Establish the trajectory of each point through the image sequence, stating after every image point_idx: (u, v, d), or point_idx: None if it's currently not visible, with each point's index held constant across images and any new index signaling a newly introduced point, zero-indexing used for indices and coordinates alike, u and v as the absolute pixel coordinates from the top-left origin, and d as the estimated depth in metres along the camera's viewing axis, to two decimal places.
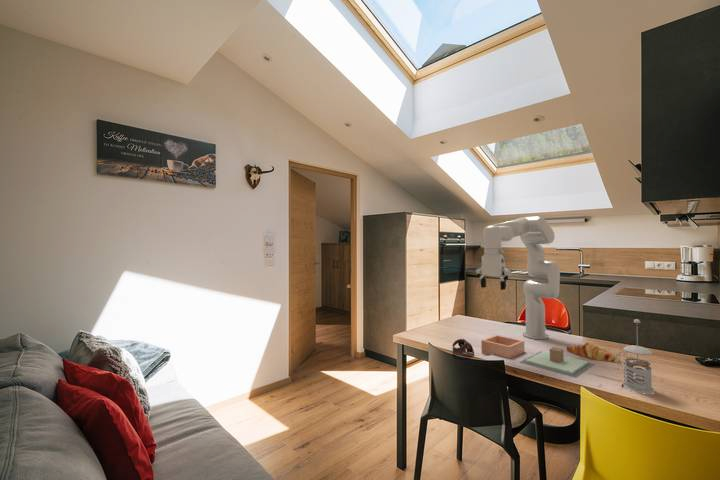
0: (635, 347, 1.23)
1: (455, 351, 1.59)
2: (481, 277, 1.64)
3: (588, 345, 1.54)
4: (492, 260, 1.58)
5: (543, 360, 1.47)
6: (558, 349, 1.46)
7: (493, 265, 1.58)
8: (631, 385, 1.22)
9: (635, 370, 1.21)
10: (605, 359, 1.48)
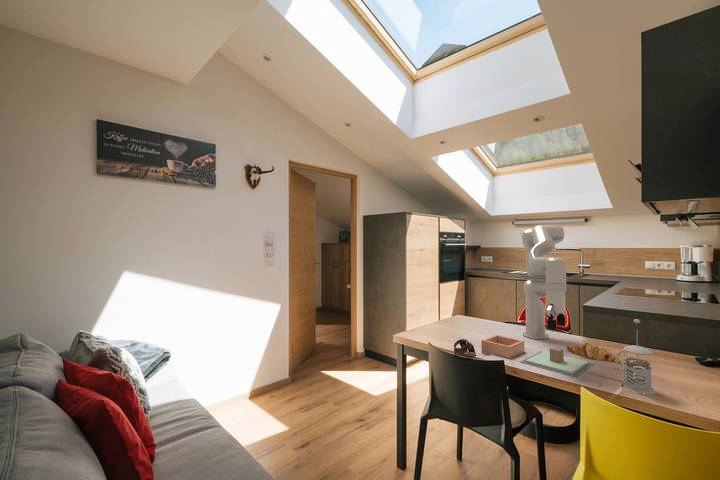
0: (635, 347, 1.23)
1: (457, 351, 1.58)
2: (555, 317, 1.42)
3: (588, 345, 1.54)
4: (563, 296, 1.45)
5: (543, 360, 1.47)
6: (558, 349, 1.46)
7: (563, 301, 1.45)
8: (631, 385, 1.22)
9: (635, 370, 1.21)
10: (605, 359, 1.48)
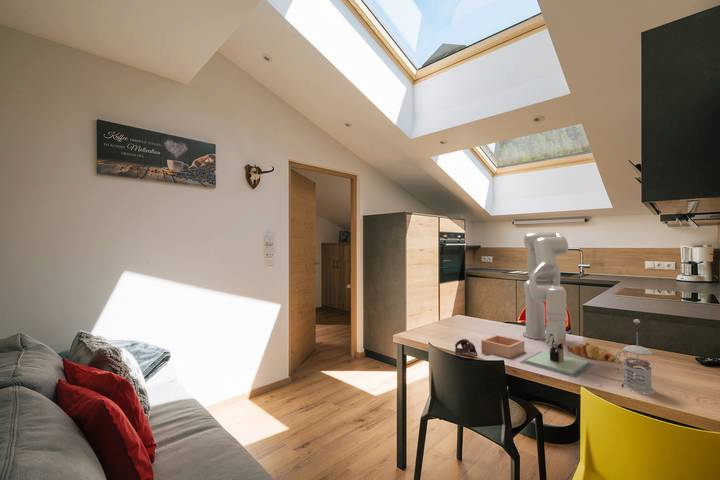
0: (635, 347, 1.22)
1: (458, 351, 1.58)
2: (557, 349, 1.43)
3: (588, 345, 1.54)
4: (563, 325, 1.45)
5: (543, 360, 1.47)
6: (558, 349, 1.46)
7: (564, 331, 1.45)
8: (631, 385, 1.22)
9: (635, 370, 1.21)
10: (605, 359, 1.48)
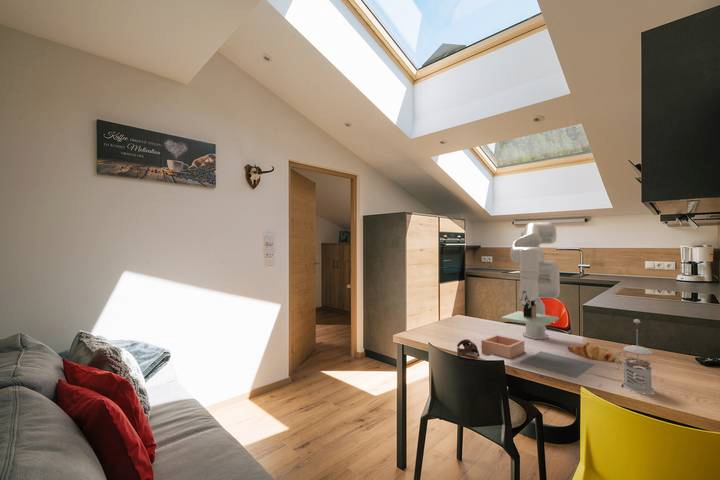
0: (635, 347, 1.23)
1: (460, 352, 1.58)
2: (530, 305, 1.51)
3: (589, 345, 1.54)
4: (536, 283, 1.53)
5: (517, 317, 1.54)
6: (531, 306, 1.53)
7: (536, 288, 1.53)
8: (631, 385, 1.22)
9: (635, 370, 1.21)
10: (605, 359, 1.48)
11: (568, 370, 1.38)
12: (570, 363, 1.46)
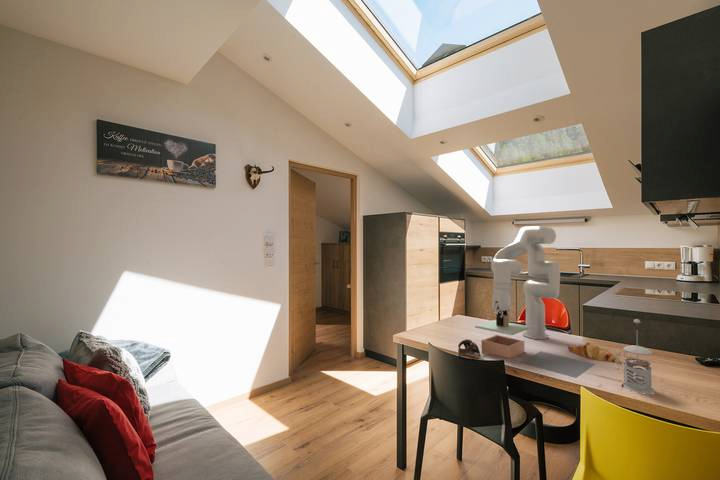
0: (635, 347, 1.23)
1: (461, 352, 1.58)
2: (502, 315, 1.60)
3: (589, 345, 1.54)
4: (508, 294, 1.61)
5: (490, 325, 1.63)
6: (503, 315, 1.62)
7: (508, 299, 1.62)
8: (631, 385, 1.22)
9: (635, 370, 1.21)
10: (605, 359, 1.48)
11: (568, 370, 1.38)
12: (570, 363, 1.46)
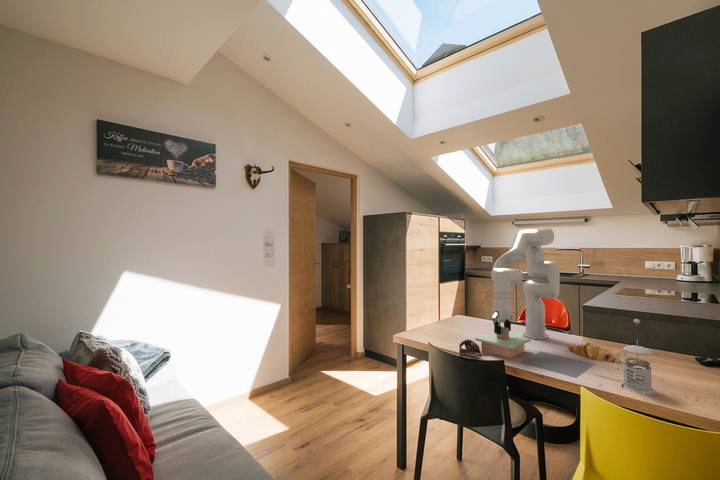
0: (635, 347, 1.23)
1: (462, 352, 1.57)
2: (500, 323, 1.58)
3: (589, 345, 1.54)
4: (508, 303, 1.61)
5: (491, 338, 1.63)
6: (504, 328, 1.62)
7: (509, 308, 1.62)
8: (631, 385, 1.22)
9: (635, 370, 1.21)
10: (605, 359, 1.48)
11: (568, 370, 1.38)
12: (570, 363, 1.46)
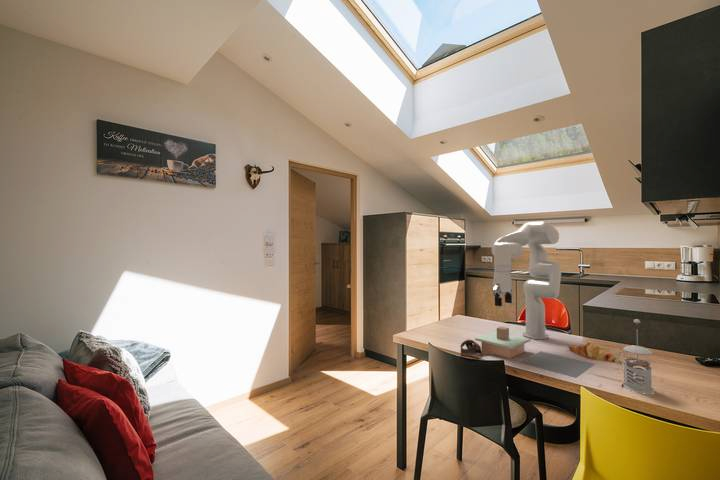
0: (635, 347, 1.23)
1: (464, 352, 1.57)
2: (500, 296, 1.60)
3: (589, 345, 1.54)
4: (509, 276, 1.63)
5: (491, 338, 1.63)
6: (504, 328, 1.62)
7: (509, 281, 1.64)
8: (631, 385, 1.22)
9: (635, 370, 1.21)
10: (605, 359, 1.48)
11: (568, 370, 1.38)
12: (570, 363, 1.46)
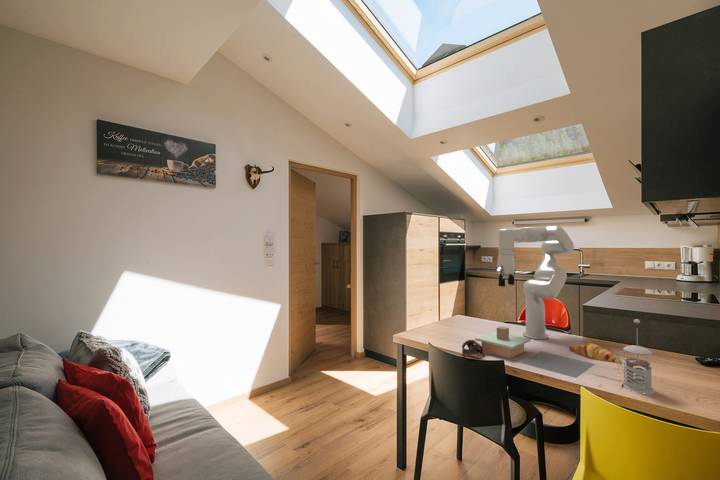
0: (635, 347, 1.23)
1: (465, 352, 1.57)
2: (504, 276, 1.73)
3: (589, 345, 1.54)
4: (512, 259, 1.76)
5: (491, 338, 1.63)
6: (504, 328, 1.62)
7: (512, 264, 1.77)
8: (631, 385, 1.22)
9: (635, 370, 1.21)
10: (605, 359, 1.48)
11: (568, 370, 1.38)
12: (570, 363, 1.46)
